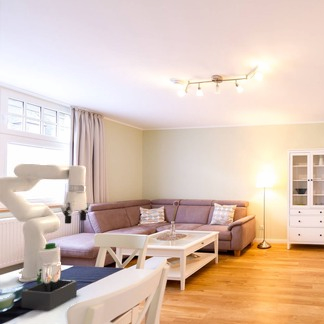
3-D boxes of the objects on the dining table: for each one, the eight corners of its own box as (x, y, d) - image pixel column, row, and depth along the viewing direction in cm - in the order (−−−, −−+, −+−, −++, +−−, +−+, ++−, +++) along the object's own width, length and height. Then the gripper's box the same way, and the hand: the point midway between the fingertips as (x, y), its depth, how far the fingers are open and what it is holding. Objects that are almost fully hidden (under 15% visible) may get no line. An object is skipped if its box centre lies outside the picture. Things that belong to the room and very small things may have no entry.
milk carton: (60, 281, 141) (61, 242, 142) (57, 287, 133) (59, 246, 134) (39, 284, 137) (40, 243, 138) (34, 291, 129) (36, 248, 130)
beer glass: (49, 304, 114) (51, 267, 115) (35, 302, 115) (37, 266, 116) (64, 296, 121) (65, 262, 122) (50, 295, 122) (52, 261, 123)
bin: (21, 307, 113) (22, 290, 113) (50, 293, 126) (51, 278, 126) (49, 310, 110) (50, 293, 110) (76, 296, 123) (77, 280, 124)
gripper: (83, 188, 153) (82, 219, 152) (56, 189, 136) (55, 224, 135) (95, 188, 152) (94, 219, 151) (69, 189, 135) (68, 225, 134)
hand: (75, 221), depth 143 cm, fingers open, 9 cm apart
